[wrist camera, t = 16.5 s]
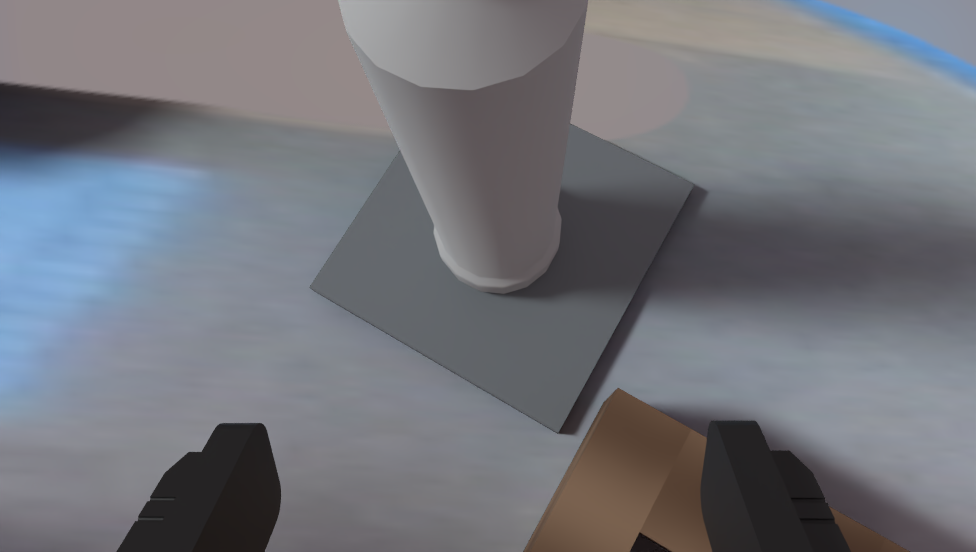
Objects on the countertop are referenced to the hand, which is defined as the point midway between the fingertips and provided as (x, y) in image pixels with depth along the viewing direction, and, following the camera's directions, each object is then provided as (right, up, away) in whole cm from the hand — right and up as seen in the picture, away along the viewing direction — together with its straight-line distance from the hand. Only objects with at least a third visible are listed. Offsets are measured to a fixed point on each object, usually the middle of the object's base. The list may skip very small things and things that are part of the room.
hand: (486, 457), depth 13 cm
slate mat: (+1, +5, +18) cm, 19 cm away
